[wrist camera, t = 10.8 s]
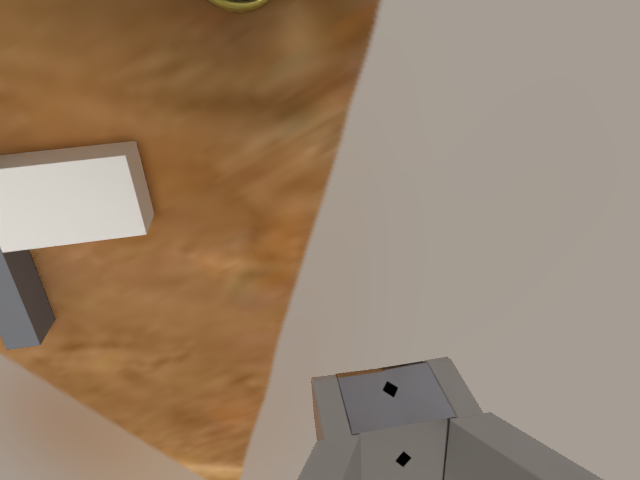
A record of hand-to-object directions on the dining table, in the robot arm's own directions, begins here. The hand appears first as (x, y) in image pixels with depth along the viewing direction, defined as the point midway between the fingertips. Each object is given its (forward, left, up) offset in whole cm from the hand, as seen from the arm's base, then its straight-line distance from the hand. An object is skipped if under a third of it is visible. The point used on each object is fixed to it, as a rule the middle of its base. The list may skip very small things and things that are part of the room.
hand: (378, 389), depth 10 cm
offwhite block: (+4, -16, -29) cm, 34 cm away
